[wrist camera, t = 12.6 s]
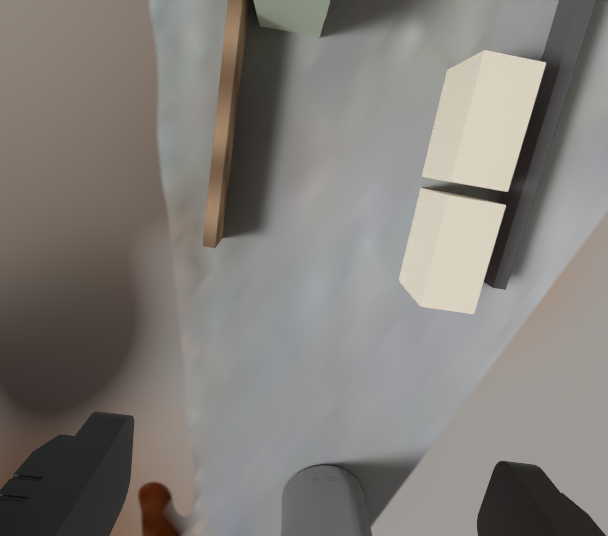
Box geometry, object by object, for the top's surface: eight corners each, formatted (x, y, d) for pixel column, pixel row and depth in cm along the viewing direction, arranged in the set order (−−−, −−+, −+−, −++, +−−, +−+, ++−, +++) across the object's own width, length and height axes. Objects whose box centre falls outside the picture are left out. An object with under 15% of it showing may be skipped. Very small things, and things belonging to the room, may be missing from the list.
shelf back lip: (222, 238, 38) (214, 247, 34) (211, 236, 38) (202, 246, 34) (260, -94, 31) (256, -128, 27) (247, -96, 31) (241, -132, 27)
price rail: (492, 280, 40) (508, 290, 37) (478, 277, 40) (492, 287, 37) (584, -23, 33) (612, -39, 30) (566, -26, 33) (593, -44, 30)
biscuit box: (498, 80, 35) (548, 63, 28) (470, 185, 38) (509, 192, 31) (447, 69, 35) (484, 49, 28) (421, 176, 37) (450, 181, 30)
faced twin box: (469, 196, 38) (508, 205, 31) (444, 287, 40) (475, 314, 33) (420, 187, 37) (449, 195, 31) (398, 280, 40) (420, 306, 33)
